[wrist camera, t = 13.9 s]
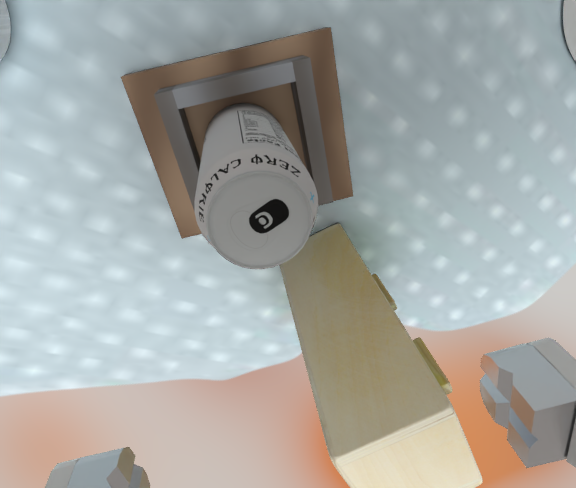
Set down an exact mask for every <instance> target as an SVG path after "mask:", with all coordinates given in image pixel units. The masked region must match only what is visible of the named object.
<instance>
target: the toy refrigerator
mask: <svg viewBox="0 0 576 488" xmlns="http://www.w3.org/2000/svg"><path fill="white" fill-rule="evenodd" d="M280 268H281V272H282V276H283V280H284V284H285V288H286V292H287V296H288V299H289V303H290V307H291V311H292V315H293V319H294V322H295V326H296V330H297V334H298V337H299V341H300V345H301V349H302V353H303V357H304V361H305V365H306V368H307V372H308V376H309V380H310V384H311V388H312V392H313V395H314V399H315V403H316V407H317V411H318V414H319V418H320V422H321V426H322V430H323V434H324V438H325V442H326V445H327V449H328V452H329V456H330V458H331V460H332V462H333V464H334V466H335V467H336V469H337V470H338V472H339V473H340V475H341V476H342V477H343V479H344V480H345V481H346V483H347V484H348V485H349V486H350V488H475V487H477V486H479V485H480V484H481V483H482V477H481V474H480V471H479V469H478V467H477V464H476V462H475V459H474V457H473V454H472V452H471V449H470V447H469V444H468V442H467V439H466V437H465V435H464V432H463V430H462V427H461V425H460V422H459V420H458V418H457V415H456V413H455V411H454V409H453V406H452V404H451V403H450V401H449V399H448V398H447V396H446V394H449V393H451V392H452V387H451V385H450V382H449V381H448V379H447V378H446V376H445V375H444V373H443V372H442V370H441V369H440V367H439V366H438V364H437V363H436V361H435V360H434V358H433V357H432V355H431V353H430V352H429V350H428V349H427V347H426V346H425V344H424V342H423V341H422V340H421V338H416V339H415V340H413V341H412V339H411V337H410V336H409V334H408V333H407V331H406V329H405V328H404V326H403V324H402V323H401V321H400V320H399V318H398V316H397V315H396V313H395V312H394V310H396V309H397V306H396V304H395V302H394V300H393V299H392V297H391V296H390V294H389V293H388V291H387V290H386V288H385V287H384V285H383V284H382V282H381V281H380V279H379V278H378V276H377V275H376V274H373V275H371V273H370V272H369V270H368V269H367V267H366V265H365V264H364V262H363V260H362V259H361V257H360V256H359V254H358V252H357V251H356V249H355V247H354V246H353V244H352V243H351V241H350V239H349V238H348V236H347V234H346V233H345V231H344V229H343V228H342V226H341V225H340V224H335V225H332V226H330V227H328V228H326V229H324V230H322V231H320V232H318V233H316V234H314V235H312V236H310V237H309V238H308V240H307V242H306V243H305V245H304V247H303V248H302V249H301V250H300V251H299V252H298V253H297V254H296V255H295V256H294V257H292V258H291V259H290V260H288V261H286V262H285V263H283V264H281V265H280Z"/></svg>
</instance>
